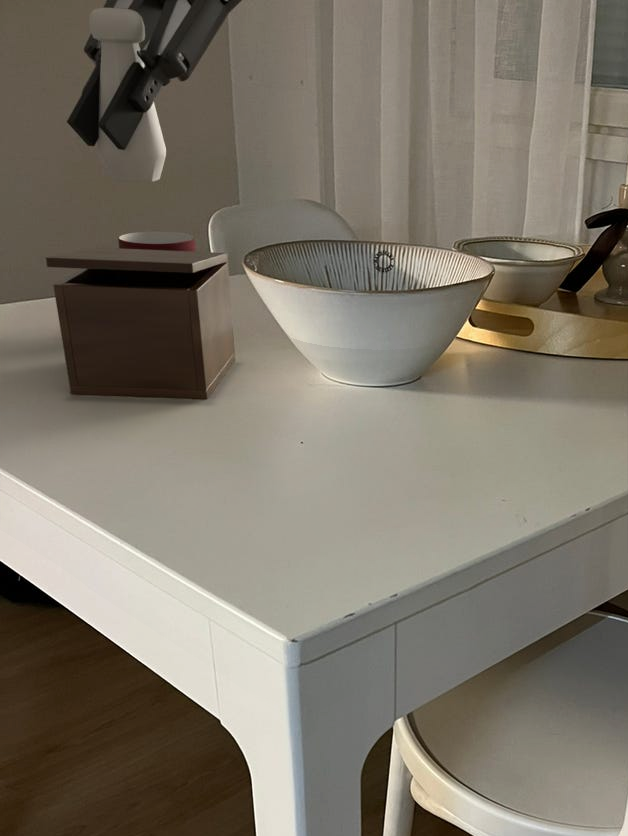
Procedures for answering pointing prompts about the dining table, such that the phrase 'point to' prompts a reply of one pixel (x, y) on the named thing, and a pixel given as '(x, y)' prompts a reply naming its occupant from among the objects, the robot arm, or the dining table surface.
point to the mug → (158, 241)
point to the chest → (146, 331)
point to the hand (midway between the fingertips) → (96, 135)
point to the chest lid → (138, 260)
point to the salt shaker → (117, 55)
